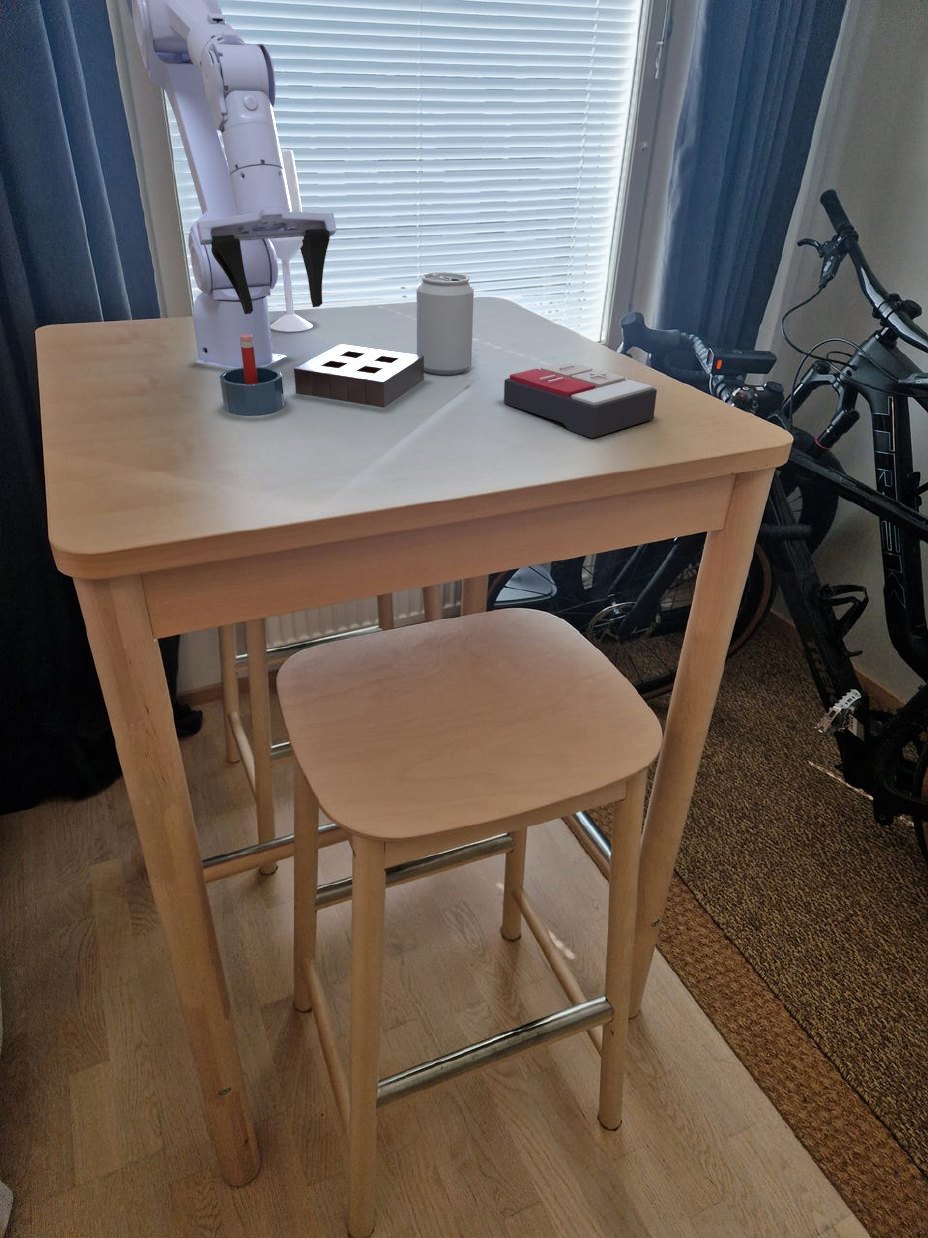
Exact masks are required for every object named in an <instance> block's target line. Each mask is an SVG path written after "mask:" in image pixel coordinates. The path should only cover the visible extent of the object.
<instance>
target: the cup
mask: <svg viewBox="0 0 928 1238" xmlns="http://www.w3.org/2000/svg"><path fill="white" fill-rule="evenodd" d="M256 372H257V380H258V383H257V384H245V376H244V368H236V369H228V370H226V371H224V372H222V373H221V374H220V375H219V383H220V392H221V399H222V405H223V409H224V411H226V412H227V413H229V414H231V415H237V416H242V417H259V416H266V415H271V414H274V413H277V412H280V411H281V410H283V409H284V407H285V394H284V386H283V385H284V384H283V376H282V373H281V372H280V371H279V370H277V369H275V368H271V367H256Z"/></svg>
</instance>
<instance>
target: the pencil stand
mask: <svg viewBox="0 0 928 1238" xmlns="http://www.w3.org/2000/svg"><path fill="white" fill-rule="evenodd" d="M293 376H294V377H293V378H294V386H295V394H298V395H304V396H308V397H309V396H310V397H315V398H322V399H329V400H335V401H339V402H341V401H342V402H347V403H353V404H360V405H365V406H370V407H371V406H372V407H378V408H383V409H385V408H386V407H387V406H389V405H390V404H392V403H393V402H395V401H396V400H398V398H401V396H403V395H404V394H405V393H407V392H409V391H410V390H412V389H413V388H415V387H416V386H417V385H418V384H420V383H422V382H423V381H424V380H425V371H424V356H421V355H417V354H414V353H405V352H398V351H392V350H384V349H378V348H377V349H376V348H371V347H363V346H356V345H349V344H342V343H341V344H338V345H337V346H335V347H333V348H331V349H329V350H327V351H325V352H323V353H321V354H319V355H318V356H315V357H313V358H312V359H309V360H307V361H305V362H303V363H302V364H299V365H298V366H296V367H294V368H293Z"/></svg>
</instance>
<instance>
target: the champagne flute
mask: <svg viewBox="0 0 928 1238" xmlns="http://www.w3.org/2000/svg"><path fill="white" fill-rule="evenodd" d="M280 152H281V157H282V162H283V167H284V173H285V178H286V183H287V189H288V194H289V199H290V204H291V210H292V212H303V207H302V199H301V195H300V187H299V182H298V181H299V179H298V174H297V169H296V163H295V155H294V150H292V149H286V148H280ZM303 239H304V236H301V237H287V238H273V239H269V240H270V242H271V243H272V245H273V247H274V250H275V253H276V257H277V259H279V260H281V267H282V268H281V269H282V279H283V281H282V282H283V291H284V302H285V314H284V315H282V316H281V317H280V318H278V319H277V320H276V321H274V322H273V323H271V324H270V330H273V331H277V332H287V333H292V332H293V333H294V332H303V331H308V330H310V329H312V328H314V326H313V324H312V323H310V322H309V321H308V320H306V319H304V318H302V317H301V316H299V315H298V314H296V313H295V309H294V297H293V284H292V283H293V282H292V274H291V262H290V260H292V259H293V258H294V257H295V256H296V255H297V254H298V252H299V251H301V250H300V248H301V247H302V245H303V243H302V240H303Z"/></svg>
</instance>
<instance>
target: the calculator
mask: <svg viewBox="0 0 928 1238" xmlns="http://www.w3.org/2000/svg"><path fill="white" fill-rule="evenodd" d="M503 382H504V385H503V403H504V404H505V405H508V406H511V407H514V408H517V409H520V410H523V411H525V412H529V413H531V414H535V415H538V416H540V417H544V418H547V419H550V420H553V421H556V422H559V423H562V425H564V426H565V428H566V429H567V430H568V431H570V432H572V433H576V434H578V435H581V436H585V437H588V438H590V439H591V438H592V439H593V438H597V437H601V436H603V435H604V436H605V435H607V434H610V433H613V432H617V431H619V430H623V429H626V428H628V427H632V426H635V425H638V424H641V423H645V422H648V421H651V420H653V419H654V418H655V409H656V401H657V393H658V389H656V387H655V388H654V387H653V386H652V385H650V384H646V383H643V382H638V381H635V380H632V379H627V380H626V377H625V376H622V375H619V374H615V373H612V372H608V371H603V370H601V369H600V370H599V369H593V368H591V367H588V366H584V365H581V364H578V363H577V364H576V363H573V362H569V361H563V362H559V363H554V364H549V365H546V366H542V367H540V368H532V369H528V370H524V371H520V372H516V373H511V374H510V375H509V377H508V378H505V379H504V381H503Z"/></svg>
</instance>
